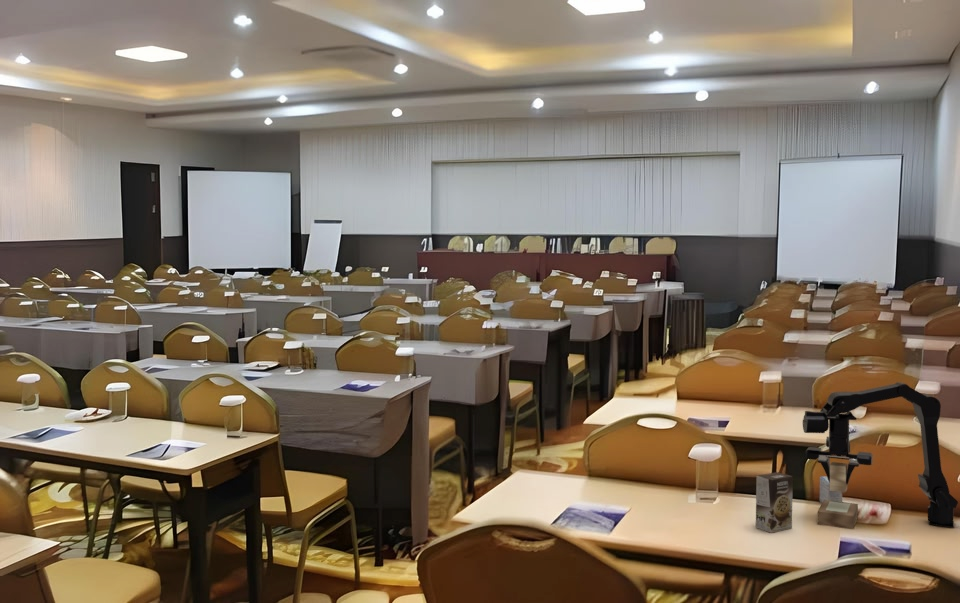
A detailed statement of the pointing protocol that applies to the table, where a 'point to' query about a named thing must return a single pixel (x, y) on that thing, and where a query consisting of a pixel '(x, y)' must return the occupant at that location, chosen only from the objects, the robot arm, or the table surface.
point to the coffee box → (774, 502)
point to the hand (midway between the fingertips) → (838, 483)
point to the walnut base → (838, 514)
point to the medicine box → (828, 491)
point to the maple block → (838, 477)
